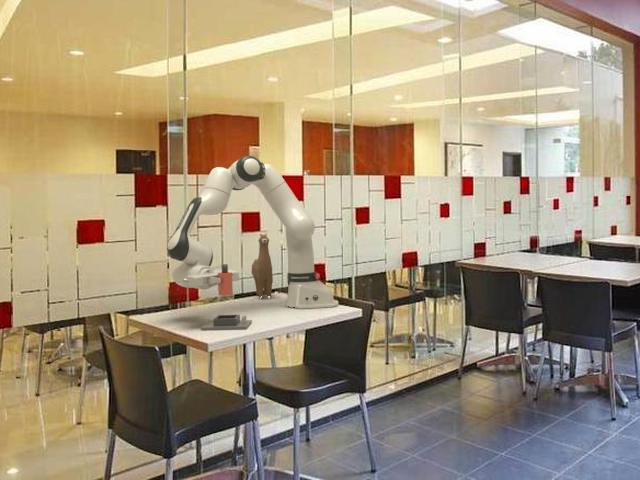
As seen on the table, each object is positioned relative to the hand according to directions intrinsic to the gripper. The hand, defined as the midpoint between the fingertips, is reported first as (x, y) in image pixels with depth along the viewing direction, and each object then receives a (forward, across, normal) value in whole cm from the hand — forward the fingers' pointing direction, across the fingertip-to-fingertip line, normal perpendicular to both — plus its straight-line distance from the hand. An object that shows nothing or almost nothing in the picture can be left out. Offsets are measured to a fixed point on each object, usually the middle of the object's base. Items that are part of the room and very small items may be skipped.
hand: (226, 279), depth 220 cm
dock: (-1, 0, +17) cm, 17 cm away
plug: (-1, 0, +6) cm, 6 cm away
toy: (-41, +54, +17) cm, 70 cm away
